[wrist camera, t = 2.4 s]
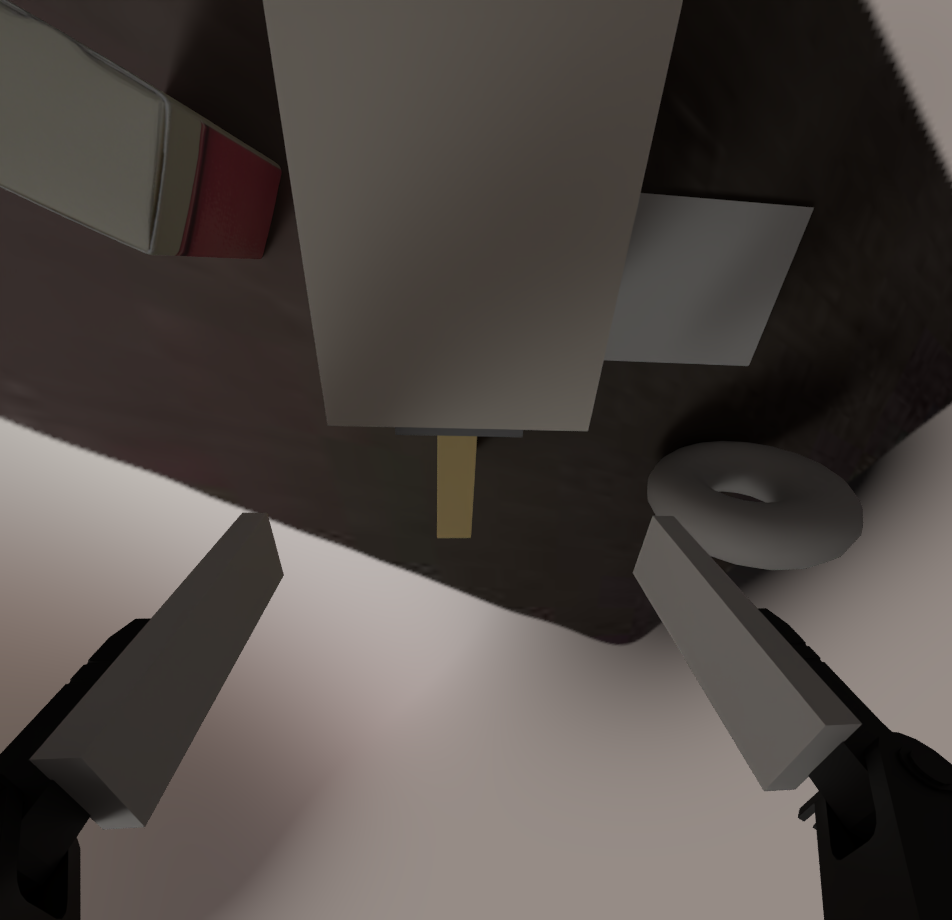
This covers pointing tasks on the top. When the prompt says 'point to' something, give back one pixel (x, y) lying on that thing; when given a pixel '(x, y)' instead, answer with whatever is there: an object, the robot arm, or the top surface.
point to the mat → (701, 279)
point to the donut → (757, 504)
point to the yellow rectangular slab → (455, 485)
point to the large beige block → (466, 198)
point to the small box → (123, 151)
